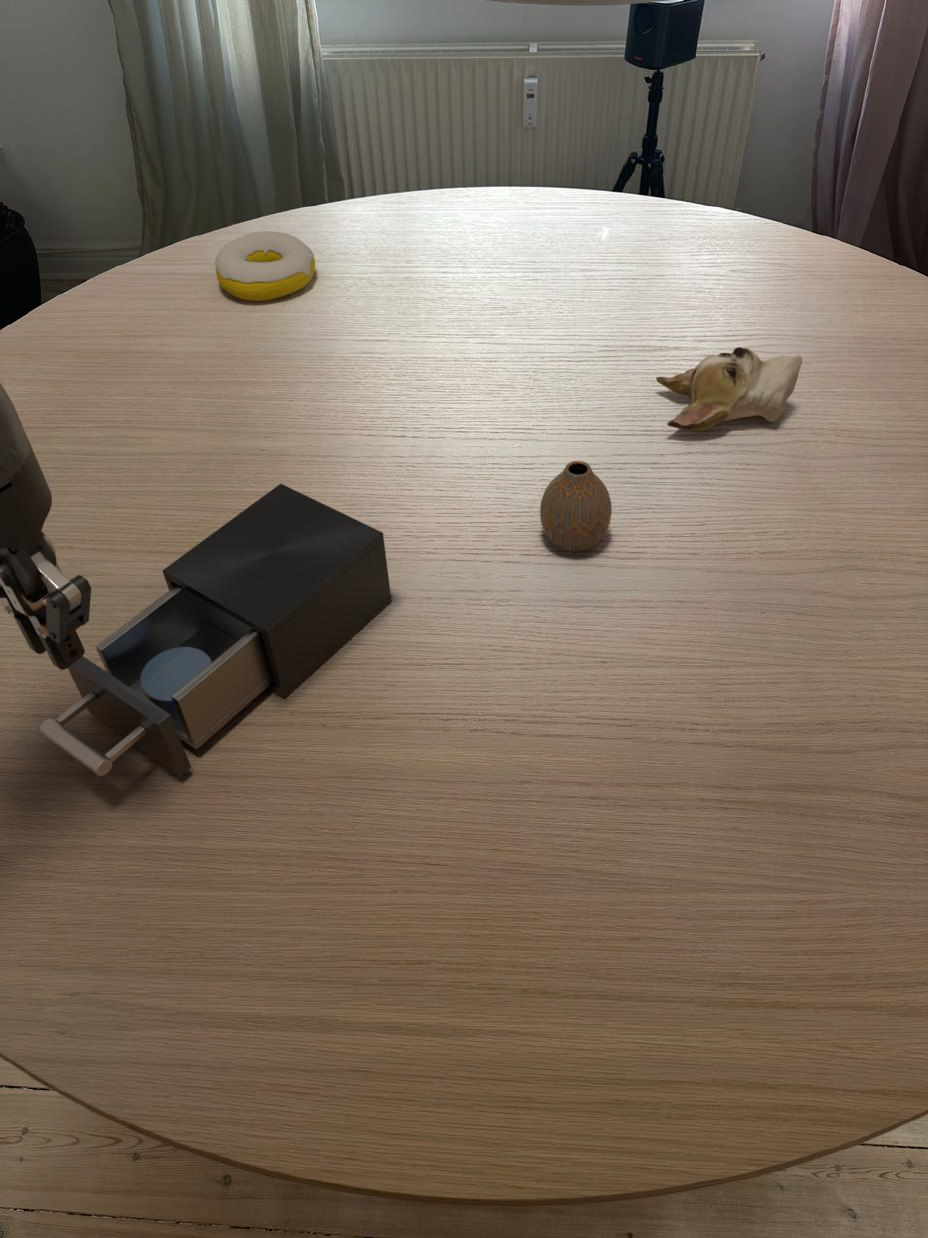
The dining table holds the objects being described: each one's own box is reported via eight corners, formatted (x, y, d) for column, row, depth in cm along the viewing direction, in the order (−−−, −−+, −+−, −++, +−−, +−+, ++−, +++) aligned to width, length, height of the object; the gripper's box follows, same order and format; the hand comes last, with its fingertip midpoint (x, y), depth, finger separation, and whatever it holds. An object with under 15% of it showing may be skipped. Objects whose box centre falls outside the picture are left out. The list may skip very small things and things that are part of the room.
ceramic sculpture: (816, 369, 102) (670, 381, 103) (804, 439, 108) (666, 449, 109) (793, 318, 109) (657, 330, 110) (782, 386, 115) (654, 396, 117)
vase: (567, 571, 95) (571, 500, 89) (525, 533, 99) (526, 463, 93) (623, 543, 97) (630, 472, 91) (579, 507, 101) (584, 437, 95)
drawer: (132, 820, 76) (106, 768, 71) (41, 751, 81) (11, 698, 76) (296, 672, 86) (283, 618, 81) (206, 619, 91) (189, 565, 86)
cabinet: (284, 699, 85) (266, 630, 79) (185, 638, 90) (161, 570, 84) (392, 601, 93) (383, 532, 87) (295, 551, 98) (280, 482, 92)
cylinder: (157, 729, 81) (149, 711, 79) (140, 680, 84) (132, 662, 83) (228, 702, 82) (221, 683, 81) (207, 655, 86) (201, 637, 84)
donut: (219, 265, 143) (211, 231, 139) (313, 254, 144) (308, 220, 141) (219, 311, 133) (211, 276, 130) (321, 299, 135) (316, 264, 131)
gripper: (-159, 448, 59) (-42, 644, 71) (-25, 533, 53) (77, 731, 65) (-49, 390, 63) (43, 585, 76) (87, 463, 57) (163, 662, 69)
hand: (59, 652), depth 70 cm, fingers closed
